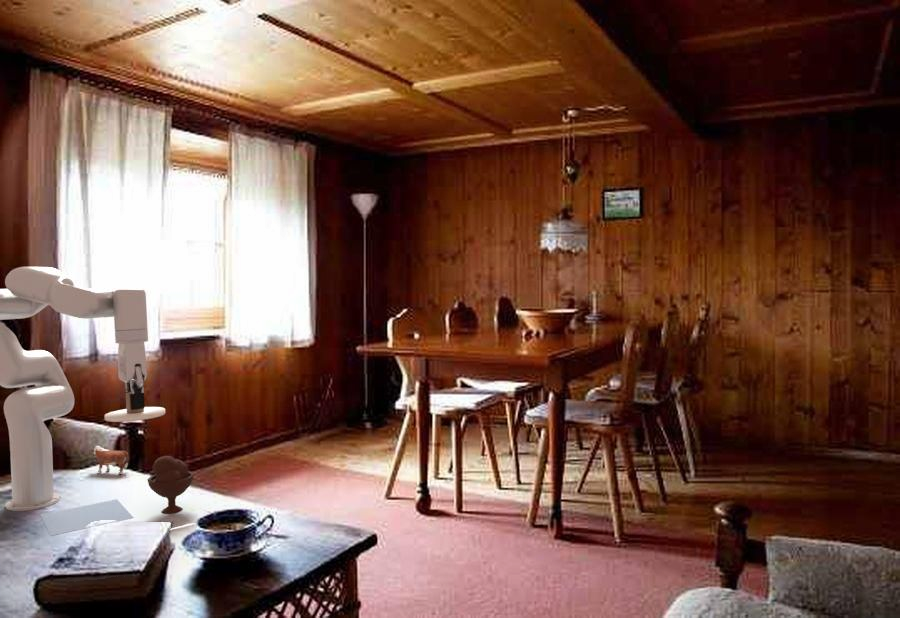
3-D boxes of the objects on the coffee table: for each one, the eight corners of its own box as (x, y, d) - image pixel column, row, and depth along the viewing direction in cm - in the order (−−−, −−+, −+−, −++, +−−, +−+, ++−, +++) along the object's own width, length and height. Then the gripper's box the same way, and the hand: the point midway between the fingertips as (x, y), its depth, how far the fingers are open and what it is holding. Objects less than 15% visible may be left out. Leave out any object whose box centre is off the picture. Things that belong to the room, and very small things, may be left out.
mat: (40, 516, 167) (39, 514, 167) (116, 501, 179) (116, 499, 179) (51, 537, 153) (50, 535, 153) (133, 519, 165) (133, 517, 165)
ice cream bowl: (178, 521, 163) (177, 461, 163) (139, 518, 166) (137, 459, 165) (203, 506, 174) (201, 451, 173) (165, 504, 176) (164, 449, 175)
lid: (99, 416, 168) (98, 393, 168) (157, 408, 177) (156, 386, 176) (111, 424, 157) (110, 399, 157) (172, 415, 166) (171, 392, 165)
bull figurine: (98, 469, 210) (97, 443, 209) (132, 472, 206) (131, 446, 205) (87, 472, 205) (86, 447, 205) (121, 476, 202) (120, 450, 201)
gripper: (108, 336, 170) (112, 405, 171) (122, 339, 157) (126, 414, 158) (139, 334, 175) (143, 401, 176) (156, 336, 162) (159, 410, 162)
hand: (135, 407), depth 167 cm, fingers closed on lid, 4 cm apart
